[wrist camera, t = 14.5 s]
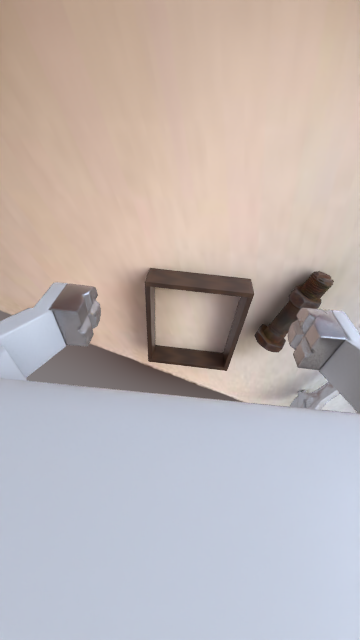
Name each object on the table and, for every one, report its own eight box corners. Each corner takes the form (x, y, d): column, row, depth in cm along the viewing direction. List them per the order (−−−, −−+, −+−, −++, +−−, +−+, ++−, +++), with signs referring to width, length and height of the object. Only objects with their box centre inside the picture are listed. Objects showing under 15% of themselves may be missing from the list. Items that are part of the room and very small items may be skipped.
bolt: (320, 265, 37) (266, 328, 47) (301, 263, 35) (248, 330, 44) (350, 288, 34) (286, 351, 43) (331, 288, 31) (267, 355, 41)
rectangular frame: (151, 347, 52) (148, 361, 49) (149, 268, 38) (144, 281, 36) (226, 355, 52) (227, 370, 49) (250, 279, 38) (254, 293, 35)
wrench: (390, 325, 45) (287, 405, 62) (383, 322, 45) (282, 403, 62) (423, 355, 39) (298, 435, 56) (415, 351, 38) (292, 433, 55)
